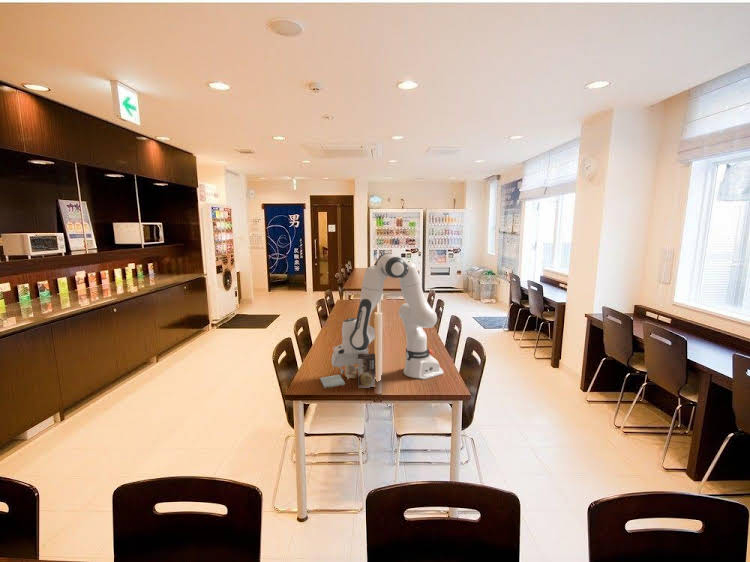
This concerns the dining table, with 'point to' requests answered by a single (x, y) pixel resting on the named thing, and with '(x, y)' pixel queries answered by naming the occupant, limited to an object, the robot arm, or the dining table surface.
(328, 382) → the tile
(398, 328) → the dining table surface
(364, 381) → the coffee box
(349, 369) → the ash block
